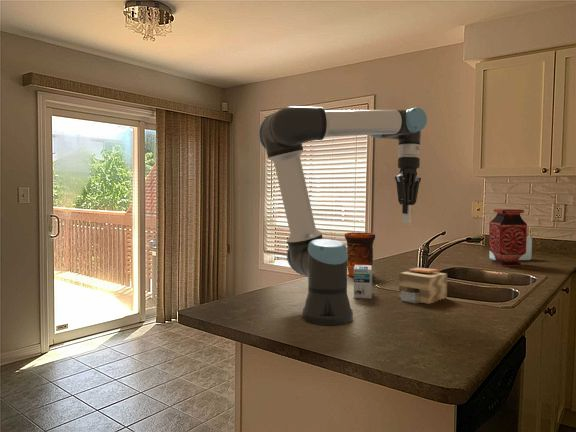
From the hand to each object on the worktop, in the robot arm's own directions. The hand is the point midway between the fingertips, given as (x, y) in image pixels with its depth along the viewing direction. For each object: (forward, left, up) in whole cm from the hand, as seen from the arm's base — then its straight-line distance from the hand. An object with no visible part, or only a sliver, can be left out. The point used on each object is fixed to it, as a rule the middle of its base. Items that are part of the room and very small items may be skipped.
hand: (406, 222), depth 154 cm
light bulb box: (-8, +13, -28) cm, 32 cm away
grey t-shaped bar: (+4, -4, -27) cm, 28 cm away
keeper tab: (+7, -2, -18) cm, 19 cm away
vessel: (+23, +41, -28) cm, 54 cm away
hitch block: (+5, -4, -27) cm, 28 cm away
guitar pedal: (+128, +16, -28) cm, 132 cm away
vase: (+106, +9, -28) cm, 110 cm away
